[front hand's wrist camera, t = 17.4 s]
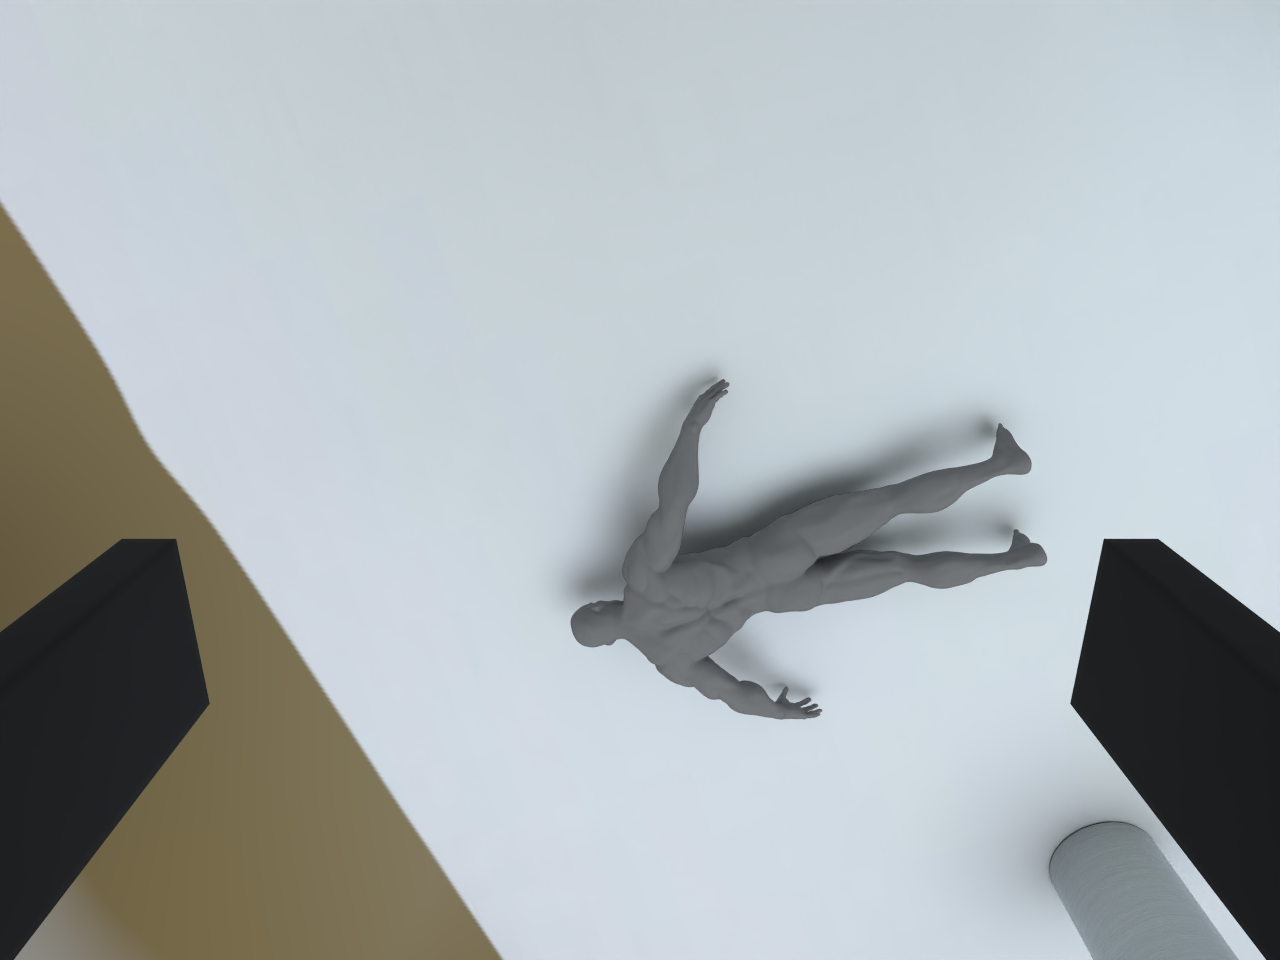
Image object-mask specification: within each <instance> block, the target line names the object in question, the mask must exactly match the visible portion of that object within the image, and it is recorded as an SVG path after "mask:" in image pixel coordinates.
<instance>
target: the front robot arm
mask: <svg viewBox="0 0 1280 960" xmlns="http://www.w3.org/2000/svg"><path fill="white" fill-rule="evenodd" d="M209 704H210V703H209V698H208V694H207V689H206V684H205V679H204V674H203V669H202V664H201V659H200V654H199V649H198V644H197V640H196V635H195V630H194V625H193V620H192V615H191V610H190V605H189V600H188V595H187V590H186V586H185V580H184V576H183V571H182V566H181V561H180V556H179V551H178V546H177V541H176V539H121V540H120V541H119V542H117V543H116V544H115V545H113V546H112V547H111V548H109V549H108V550H107V551H106V552H104V553H103V554H102V555H100V556H99V557H98V558H96V559H95V560H94V561H93V562H91V563H90V564H89V565H87V566H86V567H85V568H84V569H82V570H81V571H80V572H78V573H77V574H76V575H74V576H73V577H72V578H70V579H69V580H68V581H67V582H65V583H64V584H63V585H61V586H60V587H59V588H57V589H56V590H55V591H53V592H52V593H51V594H50V595H48V596H47V597H46V598H44V599H43V600H42V601H41V602H39V603H38V604H37V605H35V606H34V607H33V608H31V609H30V610H29V611H27V612H26V613H25V614H24V615H22V616H21V617H20V618H18V619H17V620H16V621H14V622H13V623H12V624H11V625H9V626H8V627H7V628H5V629H4V630H3V631H1V632H0V960H14V959H15V957H16V956H17V955H18V953H19V952H20V951H21V949H22V948H23V947H24V946H25V944H26V943H27V942H28V940H29V939H30V938H31V936H32V935H33V934H34V932H35V931H36V930H37V929H38V927H39V926H40V925H41V923H42V922H43V921H44V919H45V918H46V917H47V916H48V914H49V913H50V912H51V910H52V909H53V908H54V906H55V905H56V904H57V902H58V901H59V900H60V899H61V897H62V896H63V895H64V893H65V892H66V891H67V889H68V888H69V887H70V885H71V884H72V883H73V882H74V880H75V879H76V878H77V876H78V875H79V874H80V872H81V871H82V870H83V868H84V867H85V866H86V865H87V863H88V862H89V861H90V859H91V858H92V857H93V855H94V854H95V853H96V851H97V850H98V849H99V848H100V846H101V845H102V844H103V842H104V841H105V840H106V838H107V837H108V836H109V834H110V833H111V832H112V831H113V829H114V828H115V827H116V825H117V824H118V823H119V821H120V820H121V819H122V817H123V816H124V815H125V814H126V812H127V811H128V810H129V808H130V807H131V806H132V804H133V803H134V802H135V801H136V799H137V798H138V797H139V795H140V794H141V793H142V791H143V790H144V789H145V787H146V786H147V785H148V784H149V782H150V781H151V780H152V778H153V777H154V776H155V774H156V773H157V772H158V770H159V769H160V768H161V767H162V765H163V764H164V763H165V761H166V760H167V759H168V757H169V756H170V755H171V753H172V752H173V751H174V750H175V748H176V747H177V746H178V744H179V743H180V742H181V740H182V739H183V738H184V736H185V735H186V734H187V733H188V731H189V730H190V729H191V727H192V726H193V725H194V723H195V722H196V721H197V719H198V718H199V717H200V715H201V714H202V713H203V712H204V710H205V709H206V708H207V706H208V705H209ZM1070 704H1071V705H1072V706H1073V708H1074V709H1075V710H1076V712H1077V713H1078V714H1079V716H1080V717H1081V718H1082V719H1083V721H1084V722H1085V723H1086V725H1087V726H1088V727H1089V729H1090V730H1091V731H1092V733H1093V734H1094V735H1095V736H1096V738H1097V739H1098V740H1099V742H1100V743H1101V744H1102V746H1103V747H1104V748H1105V750H1106V751H1107V752H1108V753H1109V755H1110V756H1111V757H1112V759H1113V760H1114V761H1115V763H1116V764H1117V765H1118V767H1119V768H1120V769H1121V770H1122V772H1123V773H1124V774H1125V776H1126V777H1127V778H1128V780H1129V781H1130V782H1131V784H1132V785H1133V786H1134V787H1135V789H1136V790H1137V791H1138V793H1139V794H1140V795H1141V797H1142V798H1143V799H1144V801H1145V802H1146V803H1147V804H1148V806H1149V807H1150V808H1151V810H1152V811H1153V812H1154V814H1155V815H1156V816H1157V818H1158V819H1159V820H1160V821H1161V823H1162V824H1163V825H1164V827H1165V828H1166V829H1167V831H1168V832H1169V833H1170V834H1171V836H1172V837H1173V838H1174V840H1175V841H1176V842H1177V844H1178V845H1179V846H1180V848H1181V849H1182V850H1183V851H1184V853H1185V854H1186V855H1187V857H1188V858H1189V859H1190V861H1191V862H1192V863H1193V865H1194V866H1195V867H1196V868H1197V870H1198V871H1199V872H1200V874H1201V875H1202V876H1203V878H1204V879H1205V880H1206V882H1207V883H1208V884H1209V885H1210V887H1211V888H1212V889H1213V891H1214V892H1215V893H1216V895H1217V896H1218V897H1219V899H1220V900H1221V901H1222V902H1223V904H1224V905H1225V906H1226V908H1227V909H1228V910H1229V912H1230V913H1231V914H1232V916H1233V917H1234V918H1235V919H1236V921H1237V922H1238V923H1239V925H1240V926H1241V927H1242V929H1243V930H1244V931H1245V933H1246V934H1247V935H1248V936H1249V938H1250V939H1251V940H1252V942H1253V943H1254V944H1255V946H1256V947H1257V948H1258V950H1259V951H1260V952H1261V953H1262V955H1263V956H1264V957H1265V959H1266V960H1280V632H1279V631H1277V630H1276V629H1275V628H1273V627H1272V626H1271V625H1269V624H1268V623H1267V622H1266V621H1264V620H1263V619H1262V618H1260V617H1259V616H1258V615H1256V614H1255V613H1254V612H1253V611H1251V610H1250V609H1249V608H1247V607H1246V606H1245V605H1243V604H1242V603H1241V602H1240V601H1238V600H1237V599H1236V598H1234V597H1233V596H1232V595H1230V594H1229V593H1228V592H1227V591H1225V590H1224V589H1223V588H1221V587H1220V586H1219V585H1217V584H1216V583H1215V582H1213V581H1212V580H1211V579H1210V578H1208V577H1207V576H1206V575H1204V574H1203V573H1202V572H1200V571H1199V570H1198V569H1197V568H1195V567H1194V566H1193V565H1191V564H1190V563H1189V562H1187V561H1186V560H1185V559H1184V558H1182V557H1181V556H1180V555H1178V554H1177V553H1176V552H1174V551H1173V550H1172V549H1171V548H1169V547H1168V546H1167V545H1165V544H1164V543H1163V542H1161V541H1160V540H1159V539H1104V541H1103V546H1102V551H1101V556H1100V561H1099V566H1098V571H1097V576H1096V580H1095V585H1094V590H1093V595H1092V600H1091V605H1090V610H1089V615H1088V620H1087V625H1086V630H1085V635H1084V639H1083V644H1082V649H1081V654H1080V659H1079V664H1078V669H1077V674H1076V679H1075V684H1074V689H1073V693H1072V698H1071V703H1070Z"/></svg>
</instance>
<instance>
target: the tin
mask: <svg viewBox="0 0 1280 960" xmlns="http://www.w3.org/2000/svg"><path fill="white" fill-rule="evenodd" d="M1049 872H1050V879H1051V882H1052V884H1053V886H1054V888H1055V890H1056V892H1057V893H1058V895H1059V897H1060V899H1061V901H1062V903H1063V905H1064V906H1065V908H1066V910H1067V912H1068V914H1069V916H1070V917H1071V919H1072V921H1073V923H1074V925H1075V927H1076V929H1077V930H1078V932H1079V934H1080V936H1081V938H1082V940H1083V942H1084V943H1085V945H1086V947H1087V949H1088V951H1089V953H1090V955H1091V956H1092V958H1093V960H1238V958H1237V957H1236V955H1235V954H1234V953H1233V951H1232V950H1231V948H1230V947H1229V946H1228V944H1227V943H1226V941H1225V940H1224V939H1223V937H1222V936H1221V934H1220V933H1219V932H1218V930H1217V929H1216V927H1215V926H1214V925H1213V923H1212V922H1211V920H1210V919H1209V918H1208V916H1207V915H1206V913H1205V912H1204V911H1203V909H1202V908H1201V906H1200V905H1199V904H1198V902H1197V901H1196V899H1195V898H1194V897H1193V895H1192V894H1191V892H1190V891H1189V890H1188V888H1187V887H1186V885H1185V884H1184V883H1183V881H1182V880H1181V879H1180V877H1179V876H1178V874H1177V873H1176V872H1175V870H1174V869H1173V867H1172V866H1171V865H1170V863H1169V862H1168V860H1167V859H1166V858H1165V856H1164V855H1163V853H1162V852H1161V851H1160V849H1159V848H1158V846H1157V845H1156V844H1155V842H1154V841H1153V839H1152V838H1151V837H1150V836H1149V835H1148V834H1147V833H1146V832H1144V831H1143V830H1141V829H1139V828H1138V827H1135V826H1133V825H1130V824H1126V823H1119V822H1106V823H1099V824H1095V825H1091V826H1088V827H1085V828H1083V829H1081V830H1079V831H1077V832H1075V833H1074V834H1072V835H1070V836H1069V837H1068V838H1067V839H1065V840H1064V841H1063V842H1062V843H1061V844H1060V846H1059V847H1058V848H1057V849H1056V851H1055V853H1054V854H1053V857H1052V859H1051V862H1050V869H1049Z"/></svg>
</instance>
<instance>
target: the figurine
mask: <svg viewBox="0 0 1280 960" xmlns="http://www.w3.org/2000/svg"><path fill="white" fill-rule="evenodd" d="M724 383H725V380H724V379H722V380H721V381H719V382H718V383H716V384H715V385H713V386H711V388H709V389H708V390H706V392H705V393H704V394H702V395H700V396H699V397H698V399H697V400H696V402H695V404H694V406H693V407H692V409H691V411H690V412H689V414H688V416H687V417H686V419H685V421H684V423H683V425H682V428H681V432H680V435H679V438H678V440H677V442H676V444H675V447H674V449H673V450H672V452H671V454H670V457H669V459H668V460H667V462H666V464H665V465H664V467H663V469H662V472H661V474H660V477H659V482H658V494H659V508H658V509H657V510H656V511H655V512H654V513H653V514H652V516H651V517H650V519H649V521H648V524H647V527H646V530H645V532H644V533H643V534H642V535H640V536H639V537H638V538H637V539H636V541H635V542H634V543H633V545H632V546H631V548H630V549H629V551H628V553H627V555H626V558H625V561H624V564H623V576H624V578H625V580H626V581H627V585H626V587H625V589H624V601H619V600H613V601H598V602H596V603H589V604H587V605H584V606H582V607H581V608H579V609H578V610H577V611H576V612H575V613H574V614H573V616H572V618H571V628H572V632H573V635H574V637H575V639H576V640H577V641H578V642H579V643H580V644H581V645H583V646H587V647H598V646H601V645H604V644H605V645H612V644H613V643H614V642H615V641H616V640H617V639H626V640H628V641H629V642H630V643H632V644H633V645H634V646H635V647H636V648H638V649H639V650H640V651H641V652H642V653H643V654H644V655H645V656H646V657H647V659H648V660H649V661H650V662H651V663H653V664H655V666H656V668H657V670H658V671H659V672H660V673H661V674H662V675H664V676H665V677H666V678H667V679H669V680H670V681H672V682H674V683H676V684H679V685H682V686H685V687H695V688H696V689H697V690H698V691H699V692H701V693H702V694H703V695H704V696H705V697H707V698H709V699H713V700H715V699H721V700H722V701H723V702H725V703H726V704H728V706H729V707H730V708H731V709H733V710H734V711H736V712H738V713H742V714H748V715H758V716H763V717H769V718H775V719H807V718H815V717H817V716H819V715H820V712H822V709H817V710H815V711H810V710H812V709H814V708H816V707H818V704H812V705H811V706H807V707H803V708H801V706H803V705H805V704H807V703H809V702H810V701H811V698H809V697H808V698H806V699H804V700H802V701H800V702H797V703H790V702H789V701H788V699H786V694H787V692H788V687H785V688H784V689H783V691H782V693H781V695H780V696H779V698H778V699H777V701H776V702H774V701H773V700H771V699H770V698H769V696H768V695H767V693H766V691H765V690H764V689H763V688H762V687H761V686H760V685H758V684H756V683H754V682H751V681H738V680H737V679H736V678H735V677H733V676H732V675H730V674H729V673H728V672H726V671H725V670H724V669H722V668H721V667H720V666H718V665H717V664H716V663H715V662H714V661H713V660H712V659H710V658H709V657H708V656H709V655H710V654H712V653H714V652H715V651H716V650H717V649H719V648H720V647H722V646H723V645H724V644H725V643H726V642H727V641H728V640H729V639H730V637H731V636H732V635H733V634H734V633H735V632H737V631H738V630H739V629H740V628H741V627H742V626H743V625H744V623H745V621H746V620H747V619H749V618H750V617H751V616H752V615H754V614H756V613H759V612H763V611H770V612H774V613H782V612H790V611H807V610H810V609H812V608H814V607H816V606H819V605H823V604H833V603H840V602H844V601H852V600H858V599H865V598H870V597H873V596H876V595H879V594H881V593H883V592H885V591H887V590H889V589H891V588H893V587H895V586H898V585H900V584H902V583H905V582H916V583H919V584H923V585H926V586H929V587H932V588H939V589H945V588H951V587H955V586H959V585H963V584H967V583H970V582H972V581H973V580H975V579H976V578H978V577H982V576H986V575H989V574H993V573H996V572H1000V571H1004V570H1011V569H1022V568H1025V567H1031V566H1043V565H1045V564H1046V562H1047V556H1046V553H1045V551H1044V550H1043V548H1042V547H1041V546H1040V545H1039V544H1036V543H1030V540H1029V539H1028V537H1027V536H1025V535H1024V534H1022V533H1020V532H1019V531H1018V530H1014V535H1013V540H1012V545H1011V547H1010V549H1009V551H1007V552H1004V553H997V554H969V553H961V552H950V551H943V552H935V553H930V554H924V555H911V554H906V553H900V552H896V551H885V552H879V551H868V550H858V551H852V552H849V553H840V552H842V551H844V550H846V549H848V548H849V547H851V546H853V545H855V544H857V543H859V542H861V541H862V540H864V539H866V538H867V537H868V536H870V535H871V534H873V533H874V532H875V531H876V530H878V529H879V528H880V527H881V526H883V525H884V524H886V523H887V522H888V521H889V520H890V519H892V518H893V517H895V516H896V515H898V514H903V513H932V512H937V511H940V510H943V509H945V508H947V507H948V506H950V505H951V504H953V503H954V502H955V501H956V500H957V499H958V498H959V497H960V496H961V495H962V494H964V493H965V492H966V491H967V490H969V489H971V488H973V487H975V486H977V485H979V484H981V483H983V482H986V481H987V480H989V479H991V478H993V477H996V476H999V475H1005V474H1017V475H1022V474H1027V473H1029V471H1030V470H1031V460H1030V458H1029V456H1028V455H1027V453H1026V452H1025V451H1023V450H1022V449H1021V448H1020V447H1019V446H1018V445H1017V443H1016V442H1015V440H1014V438H1013V436H1012V434H1011V433H1010V432H1009V431H1008V430H1007V429H1005V428H1003V426H1002V424H999V425H998V429H997V432H996V433H997V434H996V443H995V446H994V450H993V455H992V457H991V458H990V459H988V460H986V461H984V462H980V463H977V464H972V465H967V466H962V467H956V468H948V469H942V470H937V471H932V472H929V473H925V474H922V475H920V476H917V477H914V478H912V479H909V480H906V481H904V482H901V483H898V484H894V485H888V486H885V487H882V488H876V489H870V490H866V491H862V492H849V493H846V494H837V495H833V496H831V497H828V498H825V499H823V500H819V501H817V502H814V503H811V504H809V505H807V506H805V507H803V508H801V509H799V510H797V511H795V512H793V513H791V514H788V515H783V516H781V517H779V518H778V519H776V520H775V521H773V522H772V523H770V524H769V525H768V526H767V527H765V528H764V529H762V530H759V531H757V532H755V533H754V534H753V535H751V536H750V537H742V538H740V539H738V540H737V541H735V542H733V543H731V544H730V545H728V546H726V547H717V548H712V549H710V550H707V551H703V552H698V553H688V554H682V555H677V554H678V552H679V549H680V546H681V540H682V534H683V528H684V523H685V517H686V512H687V508H688V506H689V504H690V503H691V501H692V500H693V499H694V497H695V495H696V493H697V489H698V484H699V473H698V441H699V434H700V431H701V429H702V427H703V426H704V425H705V424H706V423H707V422H708V420H709V418H710V416H711V413H712V410H713V408H714V406H715V402H717V401H718V400H719V399H720V398H721V397H723V396H724V395H726V394H727V393H728V391H727V390H724V391H722V390H723V389H725V388H727V387H728V386H729V383H728V382H726V383H725V384H724ZM721 391H722V392H721ZM836 553H840V554H836ZM833 554H835V555H833ZM827 555H831V556H827ZM821 556H827V557H824V558H822V559H819V560H817V559H818V558H819V557H821ZM808 711H809V712H808Z"/></svg>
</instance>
